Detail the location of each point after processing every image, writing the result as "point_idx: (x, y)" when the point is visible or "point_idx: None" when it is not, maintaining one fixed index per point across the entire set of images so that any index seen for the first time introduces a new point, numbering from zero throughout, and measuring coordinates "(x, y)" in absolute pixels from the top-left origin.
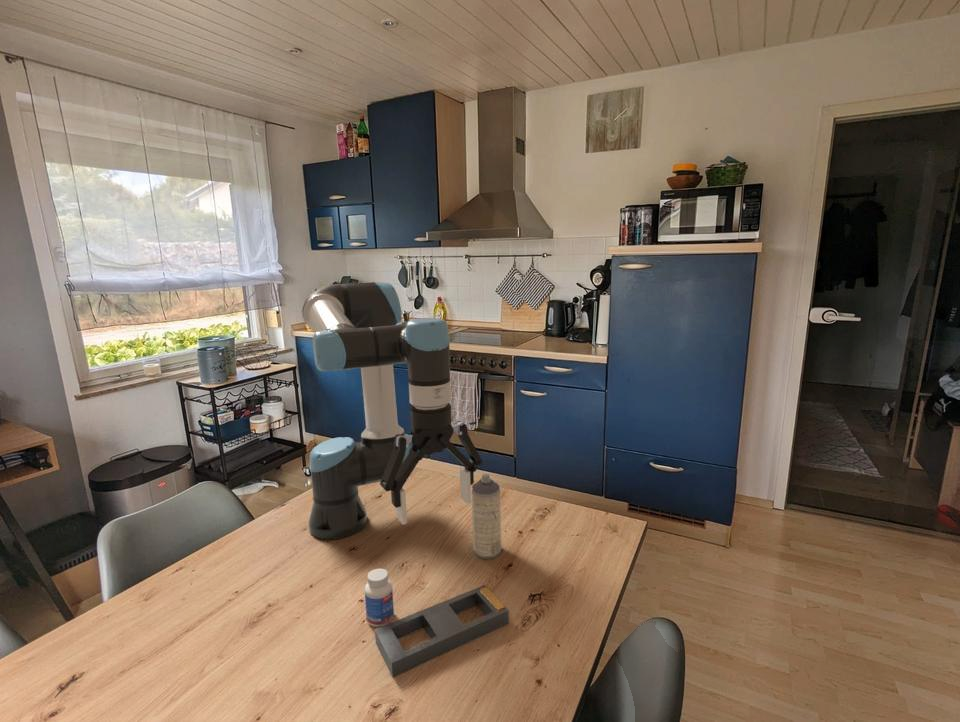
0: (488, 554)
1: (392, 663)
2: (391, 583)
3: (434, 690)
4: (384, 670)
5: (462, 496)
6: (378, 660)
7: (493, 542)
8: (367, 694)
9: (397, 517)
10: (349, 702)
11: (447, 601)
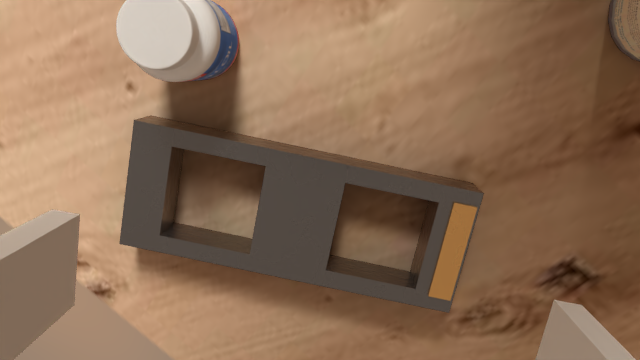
0: (633, 52)
1: (122, 243)
2: (212, 52)
3: (190, 312)
4: None
5: (557, 335)
6: None
7: None
8: None
9: (49, 212)
10: None
11: (350, 172)
